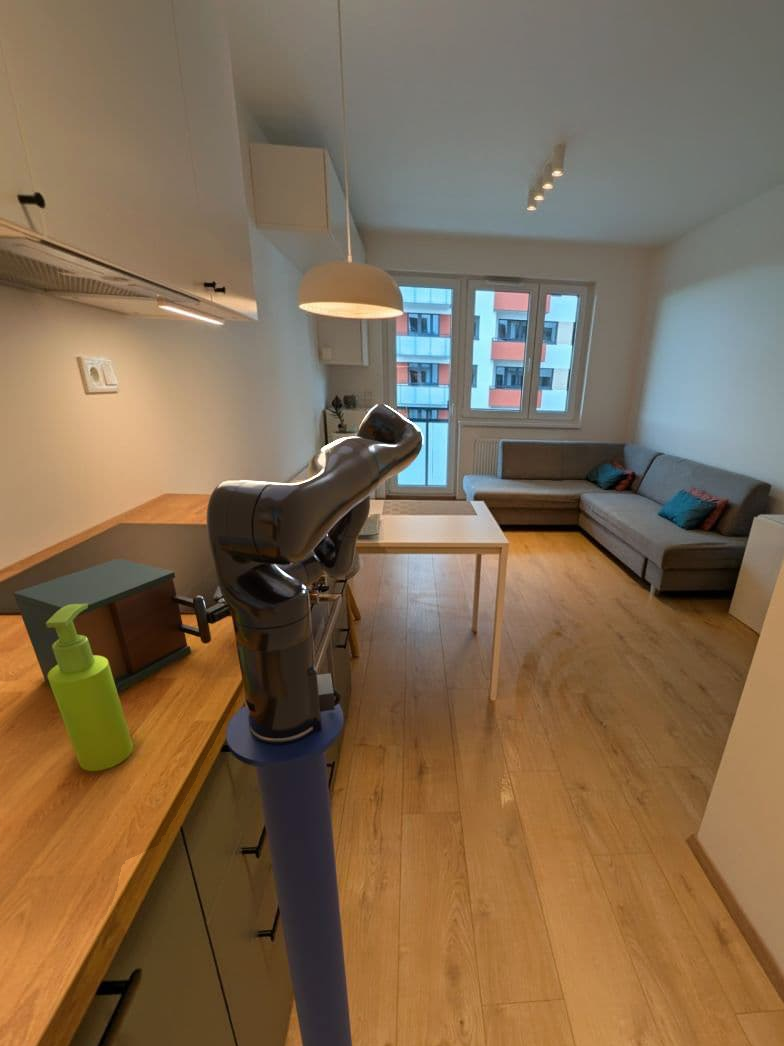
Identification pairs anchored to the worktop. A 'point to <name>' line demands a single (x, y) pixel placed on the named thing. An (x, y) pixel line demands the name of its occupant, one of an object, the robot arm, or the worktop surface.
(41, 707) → the worktop surface
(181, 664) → the worktop surface
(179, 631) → the sliding door
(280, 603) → the robot arm
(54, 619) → the soap dispenser
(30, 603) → the cabinet
